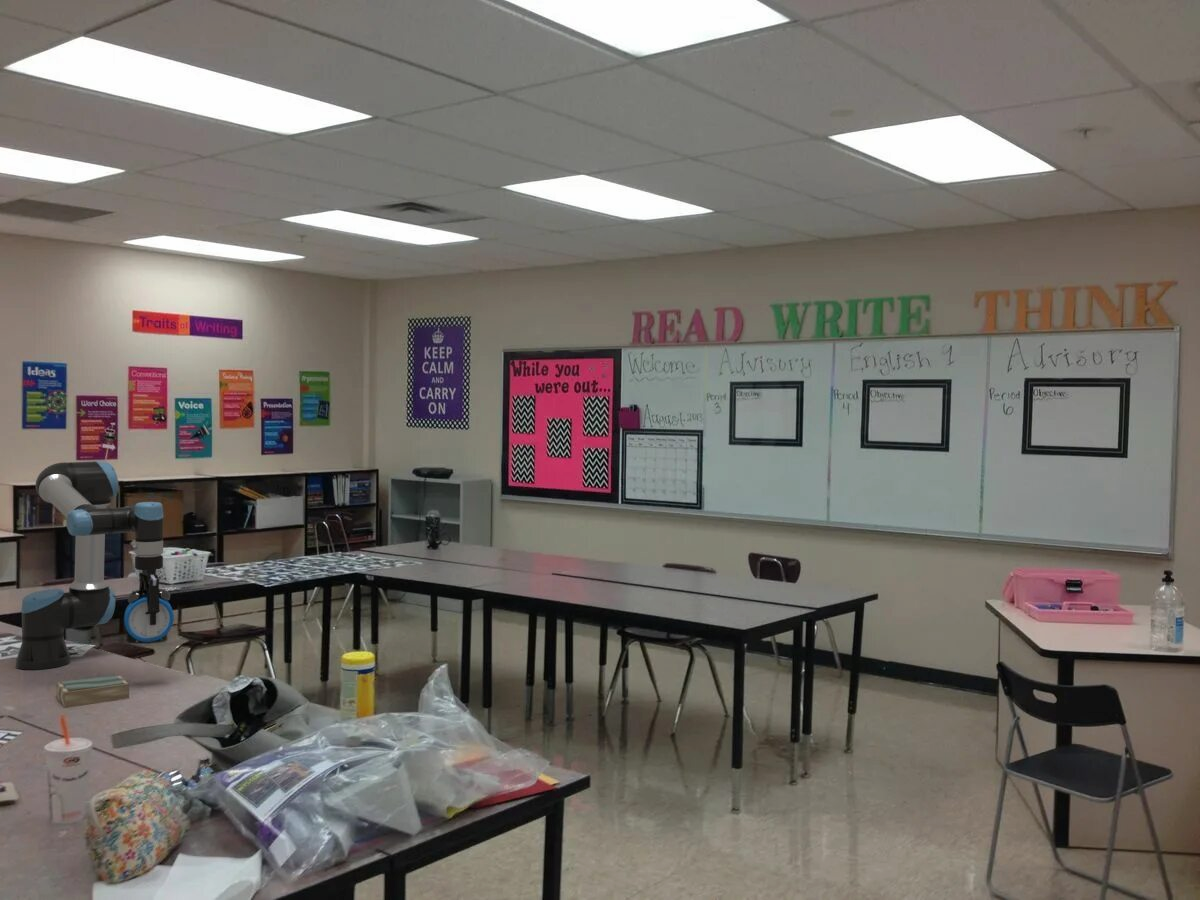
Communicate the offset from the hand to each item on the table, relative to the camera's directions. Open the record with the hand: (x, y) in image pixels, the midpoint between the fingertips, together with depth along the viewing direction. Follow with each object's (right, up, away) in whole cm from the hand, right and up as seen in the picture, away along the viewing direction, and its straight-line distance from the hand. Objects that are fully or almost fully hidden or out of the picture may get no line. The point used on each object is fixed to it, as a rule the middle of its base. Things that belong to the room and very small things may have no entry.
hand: (149, 633), depth 299 cm
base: (-10, -16, -13) cm, 23 cm away
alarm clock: (0, -2, 0) cm, 2 cm away
